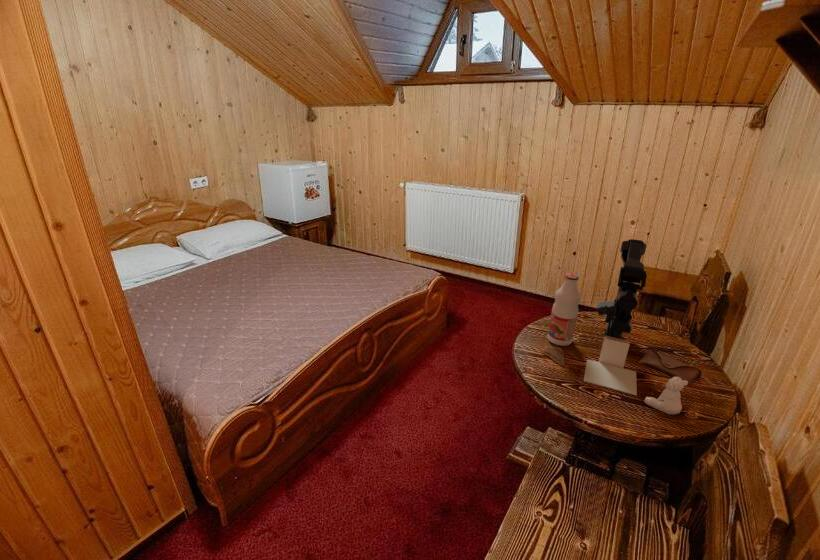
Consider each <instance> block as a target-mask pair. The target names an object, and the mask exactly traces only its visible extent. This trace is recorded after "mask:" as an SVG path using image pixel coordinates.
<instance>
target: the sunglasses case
mask: <svg viewBox="0 0 820 560" xmlns="http://www.w3.org/2000/svg"><path fill="white" fill-rule="evenodd" d="M638 363H640V364H642V365H645V366H648V367H650V368H652V369H655V370H656V371H658V372H661V373H664V374H666V375H668V376H670V377H672V378H673V377H679V378H681V379H682V380H683V381H688V384H687V385H689V386H693V384H694V383H695V382H697V380H698V379H699V378H701V376H702V370H701V369H700V368H697V367H695V366H692V365H689V364H687V363H684V362H683V361H681V360H678V359H675V358H673V357H671V356H669V355H666V354H664V353H661V352H659V351H656V350H655V349H653V348H649V347H648V348H647V350H646V352H645V354H644V355H643V357H642V358H641V359H640V360H639V361H638Z"/></svg>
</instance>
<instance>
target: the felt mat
mask: <svg viewBox="0 0 820 560" xmlns="http://www.w3.org/2000/svg"><path fill="white" fill-rule="evenodd" d="M583 382H584V383H589V384H592V385H596V386H598V387H599V386H600V387H604V388H606V389H610V390H613V391H617V392H621V393H625V394H629V395H632V396H636V397H637V394H638V393H637V391H638V389H637V388H638V387H637V371H634V370H631V369H627V368H624V367H623V368H619V367H616V366H612V365H608V364H604V363H600V362H599V361H595V360H592V359H588V358H587V359H586V363H585V369H584V376H583Z"/></svg>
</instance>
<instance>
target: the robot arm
mask: <svg viewBox="0 0 820 560" xmlns="http://www.w3.org/2000/svg"><path fill="white" fill-rule="evenodd" d="M646 249H647V244H646V243H645V242H644V241H643V240H642V239H641V240H639V239H633V238H631V239H628V240H623V241H622V242H621V245H620V249H619V253H621V254H620V258H621V261H622V263H623V265H622V266H621V267H620V269H619V272H618V273H619V274H618V278H617V279H618V280H617V288H618V289H617V294H616V298H614V301H600V302H598V303H597V304H596V309H597V315H598V316H604V315H605V318H604V323H607V327H606V328H605V329H604V334H603V338H604V337H605V336H610V337H614V338H618V339H623V333H625V334H630V333H631V330H632V323H631V322H632V320H633V315H632V312H633V311H634V310H635V309H636V308H637V307H638V294H637V293H638V291H641V292H642V291H643V290H644V288H645V287H646V283H647V277H648V274H647V270H645V264H643V262H641V259H642V257H643V256H644V255H645V254H646Z"/></svg>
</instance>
